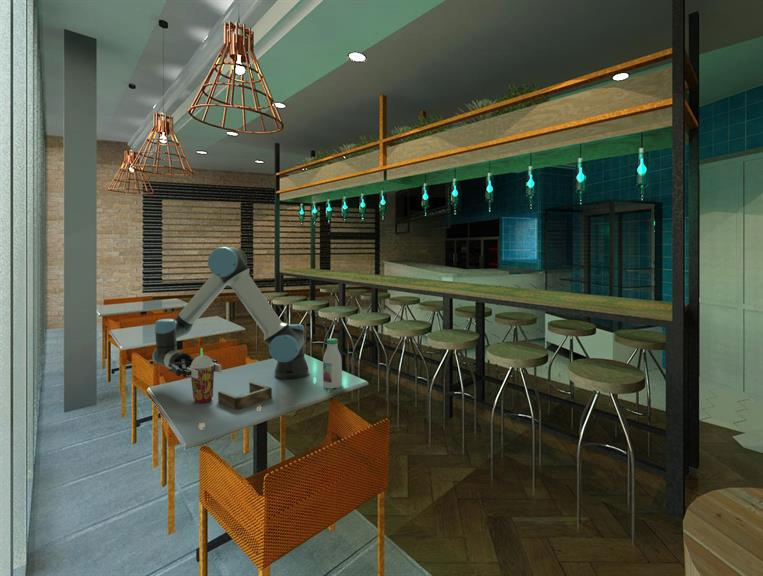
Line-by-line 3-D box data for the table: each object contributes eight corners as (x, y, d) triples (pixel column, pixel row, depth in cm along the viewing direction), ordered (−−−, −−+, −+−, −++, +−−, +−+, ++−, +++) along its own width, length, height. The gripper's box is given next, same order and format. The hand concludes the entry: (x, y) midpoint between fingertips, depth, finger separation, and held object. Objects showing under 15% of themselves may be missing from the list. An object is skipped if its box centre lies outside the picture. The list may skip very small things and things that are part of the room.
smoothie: (187, 400, 155) (185, 348, 153) (209, 394, 161) (207, 344, 159) (196, 406, 149) (194, 352, 147) (219, 400, 155) (217, 348, 153)
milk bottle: (339, 382, 177) (339, 336, 175) (343, 388, 169) (343, 340, 167) (321, 384, 174) (321, 337, 172) (325, 390, 167) (324, 341, 165)
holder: (252, 391, 165) (252, 381, 165) (271, 397, 158) (271, 387, 158) (218, 402, 153) (218, 391, 153) (237, 409, 146) (236, 398, 146)
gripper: (203, 364, 173) (235, 374, 160) (151, 376, 157) (180, 389, 143) (203, 347, 173) (234, 355, 159) (150, 357, 156) (179, 368, 142)
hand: (209, 371), depth 151 cm, fingers closed on smoothie, 8 cm apart
